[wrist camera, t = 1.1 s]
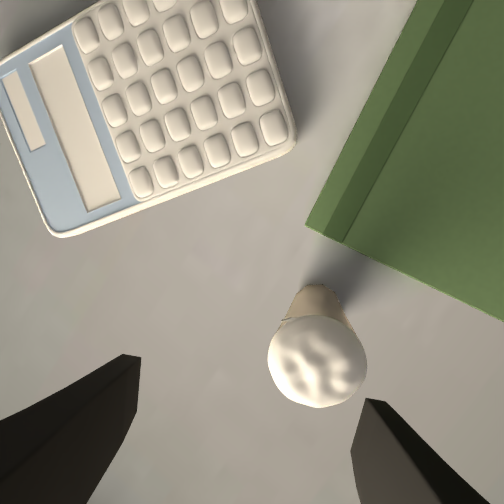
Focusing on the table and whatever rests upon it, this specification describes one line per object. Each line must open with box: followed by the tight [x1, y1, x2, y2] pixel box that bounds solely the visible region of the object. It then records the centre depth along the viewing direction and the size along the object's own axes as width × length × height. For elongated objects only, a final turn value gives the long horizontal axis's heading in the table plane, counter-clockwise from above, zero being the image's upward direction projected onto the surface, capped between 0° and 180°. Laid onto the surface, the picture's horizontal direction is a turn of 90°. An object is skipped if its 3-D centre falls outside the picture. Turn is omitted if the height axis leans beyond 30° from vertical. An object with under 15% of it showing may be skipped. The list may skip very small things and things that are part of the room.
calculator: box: [0, 0, 297, 238], centre depth 22 cm, size 13×20×2 cm, turn 110°
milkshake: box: [268, 284, 367, 408], centre depth 18 cm, size 4×5×10 cm
